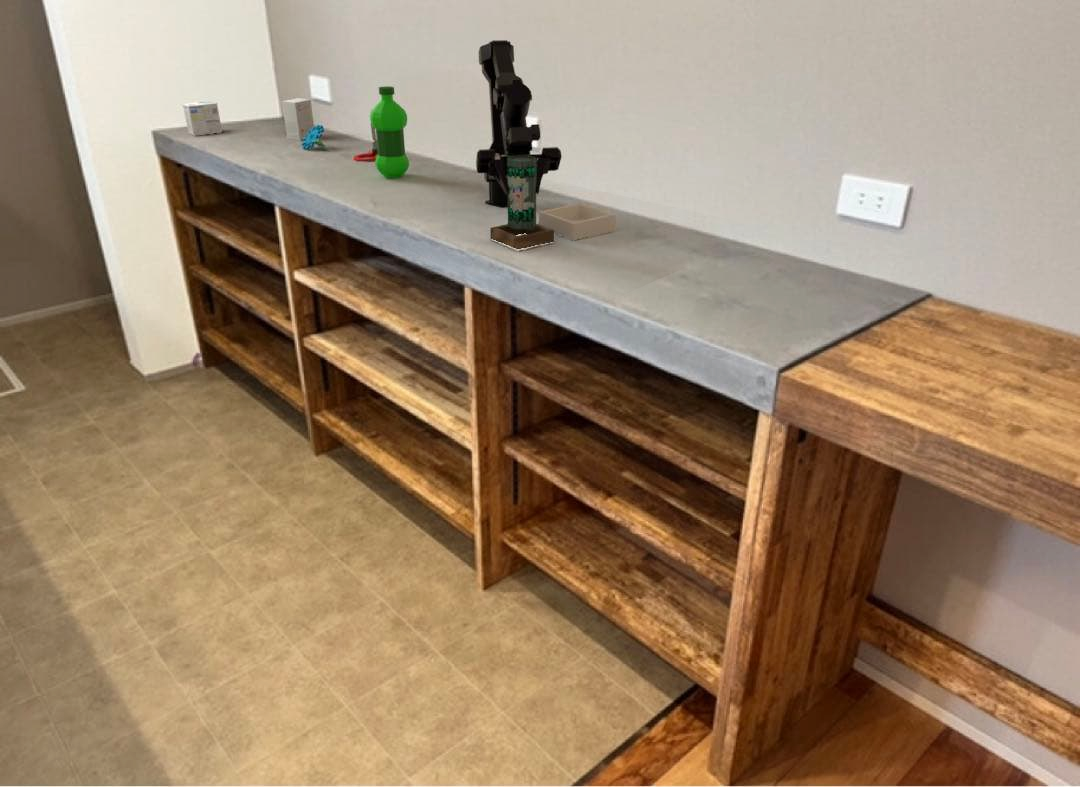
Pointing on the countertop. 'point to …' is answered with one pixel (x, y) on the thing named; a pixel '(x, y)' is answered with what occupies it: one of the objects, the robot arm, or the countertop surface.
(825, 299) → the countertop surface
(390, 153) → the plastic bottle
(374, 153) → the tow hook
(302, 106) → the small box
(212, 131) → the light bulb box
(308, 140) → the blue flower bunch
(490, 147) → the robot arm
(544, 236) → the holder
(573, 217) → the bin
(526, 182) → the can
